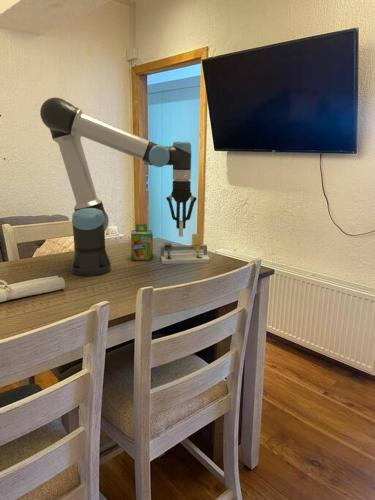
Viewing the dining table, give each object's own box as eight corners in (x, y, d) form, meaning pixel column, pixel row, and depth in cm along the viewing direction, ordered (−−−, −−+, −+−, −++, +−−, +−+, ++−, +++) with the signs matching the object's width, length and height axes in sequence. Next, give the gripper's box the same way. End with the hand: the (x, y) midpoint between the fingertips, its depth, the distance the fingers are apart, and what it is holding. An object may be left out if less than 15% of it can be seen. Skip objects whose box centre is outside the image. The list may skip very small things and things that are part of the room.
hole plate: (162, 264, 158) (162, 251, 156) (160, 257, 167) (160, 245, 166) (209, 262, 160) (210, 249, 159) (205, 256, 170) (205, 244, 169)
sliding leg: (194, 256, 161) (194, 237, 159) (191, 252, 168) (191, 234, 166) (201, 256, 162) (201, 237, 160) (198, 252, 169) (198, 233, 167)
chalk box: (131, 261, 162) (130, 226, 159) (131, 255, 171) (130, 222, 168) (153, 260, 164) (152, 226, 160) (152, 254, 172) (151, 222, 169)
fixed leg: (165, 258, 160) (165, 246, 159) (164, 254, 167) (163, 242, 166) (172, 258, 160) (172, 246, 159) (170, 253, 167) (170, 242, 166)
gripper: (166, 180, 154) (166, 238, 160) (198, 181, 155) (197, 237, 161) (165, 179, 161) (164, 234, 167) (195, 179, 163) (194, 234, 168)
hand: (180, 235), depth 164 cm, fingers closed
